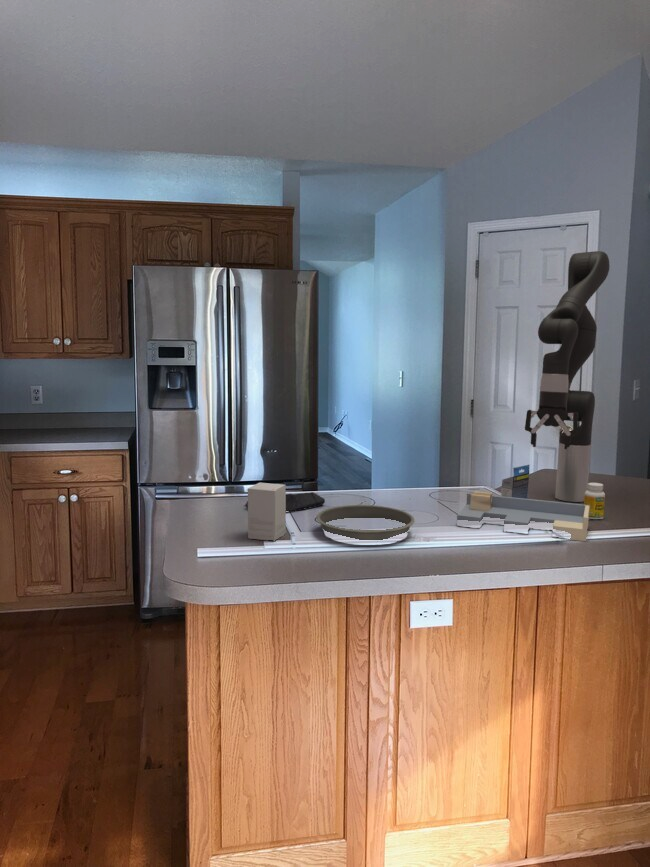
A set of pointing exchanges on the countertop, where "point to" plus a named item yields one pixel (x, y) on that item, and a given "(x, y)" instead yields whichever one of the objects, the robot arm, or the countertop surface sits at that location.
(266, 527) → the supplement box
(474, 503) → the maple block
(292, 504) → the dark slate chunk
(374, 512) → the cake pan
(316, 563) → the countertop surface
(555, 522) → the tray
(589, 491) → the supplement bottle
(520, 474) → the label tape box
